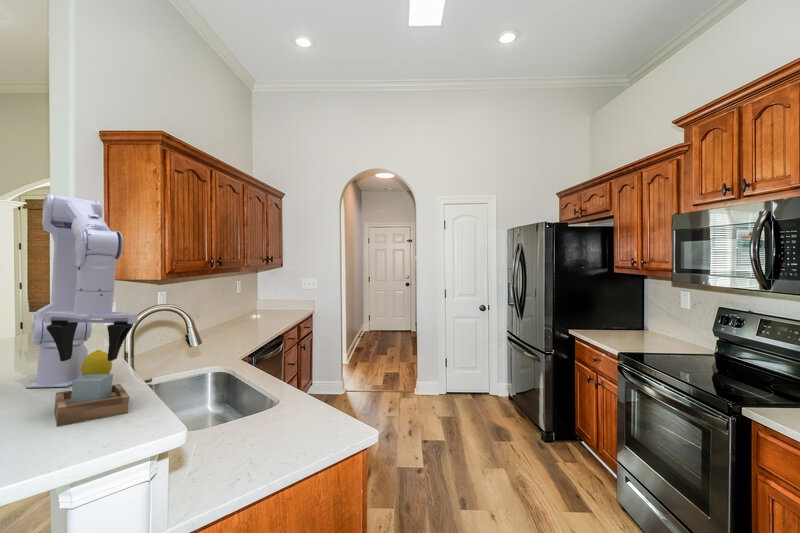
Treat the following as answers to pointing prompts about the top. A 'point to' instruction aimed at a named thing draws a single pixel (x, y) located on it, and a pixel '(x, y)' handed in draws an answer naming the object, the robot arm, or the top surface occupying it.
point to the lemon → (96, 363)
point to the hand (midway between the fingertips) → (89, 359)
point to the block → (91, 388)
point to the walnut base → (90, 407)
